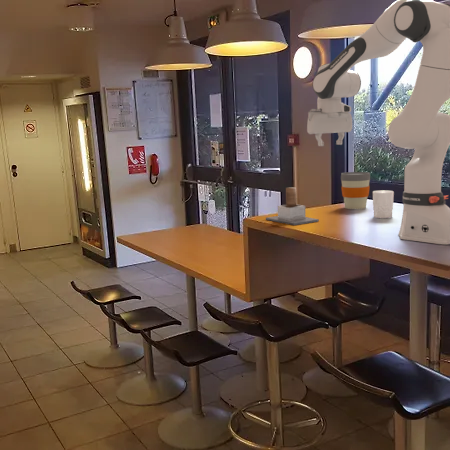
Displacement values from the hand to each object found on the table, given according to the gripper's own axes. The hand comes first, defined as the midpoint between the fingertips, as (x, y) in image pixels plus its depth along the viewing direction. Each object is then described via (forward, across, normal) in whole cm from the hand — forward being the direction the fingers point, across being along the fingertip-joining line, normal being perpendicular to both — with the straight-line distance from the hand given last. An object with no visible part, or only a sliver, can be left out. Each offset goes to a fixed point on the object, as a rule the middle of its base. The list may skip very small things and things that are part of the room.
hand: (330, 145), depth 212 cm
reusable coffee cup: (+28, +27, +14) cm, 42 cm away
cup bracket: (+28, -13, +9) cm, 32 cm away
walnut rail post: (+28, -13, +9) cm, 32 cm away
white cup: (+29, +17, -10) cm, 35 cm away
